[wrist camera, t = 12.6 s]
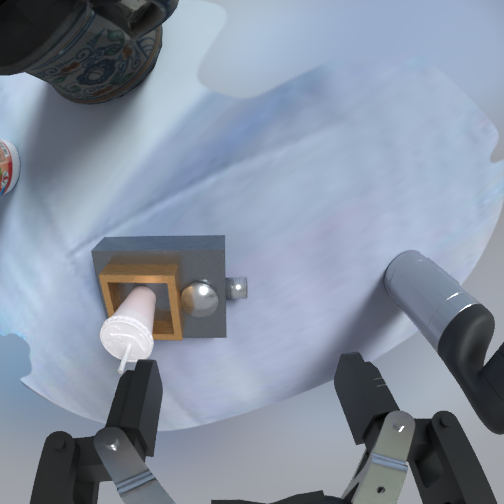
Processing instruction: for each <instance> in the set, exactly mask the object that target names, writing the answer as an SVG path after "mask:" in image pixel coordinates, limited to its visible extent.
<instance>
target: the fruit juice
mask: <svg viewBox="0 0 504 504" xmlns="http://www.w3.org/2000/svg"><path fill="white" fill-rule="evenodd" d="M19 172H20V159H19V154H18V151H17V149H16V147H15V146H14V144H13V143H12V142H11V141H9V140H7V139H0V196H2V195H5V194H6V193H8V192H9V191H10V190H11V189H12V188H13V187H14V186H15V184H16V182H17V180H18V177H19Z"/></svg>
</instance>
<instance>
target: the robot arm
mask: <svg viewBox="0 0 504 504" xmlns="http://www.w3.org/2000/svg"><path fill="white" fill-rule="evenodd" d="M384 285H385V288H386V290H387V292H388V293H389V295H390V296H391V297H392V298H393V299H394V300H395V302H396V303H397V304H398V305H399V306H400V308H401V309H402V310H403V311H404V312H405V314H406V315H407V316H408V317H409V318H410V320H411V321H412V322H413V323H414V325H415V326H416V327H417V328H418V329H419V331H420V332H421V333H422V334H423V336H424V337H425V338H426V339H427V341H428V342H429V343H430V344H431V345H432V347H433V348H434V349H435V351H436V352H437V353H438V355H439V356H440V357H441V359H442V360H443V361H444V363H445V365H446V366H447V368H448V369H449V371H450V372H451V373H452V375H453V376H454V378H455V379H456V381H457V382H458V384H459V385H460V387H461V388H462V390H463V392H464V393H465V395H466V397H467V399H468V400H469V402H470V404H471V406H472V407H473V409H474V411H475V412H476V414H477V415H478V417H479V418H480V420H481V421H482V422H483V423H484V425H485V426H486V427H487V428H488V429H489V430H490V431H491V432H493V433H495V434H499V435H500V434H504V342H503V344H502V345H501V346H500V347H499V350H497V351H496V352H495V354H494V355H493V356H492V358H491V359H490V360H489V361H488V362H487V363H486V365H485V366H484V367H483V364H484V359H485V355H486V352H487V349H488V346H489V344H490V341H491V339H492V336H493V333H494V328H495V321H494V317H493V315H492V314H491V313H490V311H489V310H488V309H486V308H485V307H484V306H483V305H482V304H481V303H480V302H479V301H478V300H476V299H475V298H474V297H473V296H472V295H471V294H469V293H468V292H467V291H466V290H465V289H464V288H463V287H461V286H460V285H459V282H458V281H456V280H455V279H454V278H453V277H452V276H450V275H449V274H448V273H447V272H446V271H444V270H443V269H442V268H441V267H439V266H438V265H437V264H436V263H434V262H433V261H432V260H431V259H429V258H426V257H425V256H424V255H422V254H421V253H420V252H418V251H406V252H404V253H402V254H400V255H399V256H397V257H396V258H395V259H394V260H393V261H392V263H391V264H390V265H389V267H388V269H387V271H386V274H385V279H384ZM334 385H335V389H336V392H337V395H338V398H339V400H340V403H341V406H342V408H343V411H344V414H345V416H346V419H347V422H348V424H349V427H350V430H351V432H352V435H353V438H354V441H355V443H356V445H358V444H363V443H365V446H366V449H365V451H364V453H363V456H362V458H361V460H360V462H359V465H358V467H357V469H356V472H355V473H354V476H353V478H352V480H351V482H350V483H349V485H348V487H347V488H346V490H345V491H344V493H343V495H342V496H341V498H338V497H334V496H326V495H324V493H323V491H322V490H321V491H316V492H310V493H304V494H297V495H294V496H291V497H288V498H286V499H283V500H280V501H277V502H274V503H270V504H396V503H397V500H398V497H399V495H400V492H401V489H402V486H403V483H404V480H405V477H406V474H407V470H408V466H406V465H405V463H406V461H408V462H409V465H410V468H411V470H412V473H413V476H414V479H415V482H416V484H417V487H418V490H419V493H420V496H421V499H422V502H423V504H497V502H496V499H495V497H494V494H493V492H492V490H491V487H490V485H489V483H488V481H487V478H486V476H485V474H484V471H483V469H482V467H481V465H480V463H479V461H478V459H477V456H476V454H475V452H474V450H473V449H472V446H471V445H470V442H469V440H468V438H467V437H466V435H465V433H464V431H463V429H462V427H461V425H460V423H459V421H458V420H457V418H456V416H455V415H454V414H452V413H451V412H448V411H439V412H437V413H436V414H434V416H433V418H432V419H414V418H413V417H412V416H411V415H410V414H409V413H407V412H404V411H400V409H399V407H398V405H397V404H396V402H395V400H394V398H393V396H392V394H391V392H390V390H389V389H388V387H387V385H386V383H385V381H384V379H382V376H381V374H380V372H379V370H378V368H376V367H375V366H374V365H373V364H372V363H371V362H364V360H363V358H362V356H361V354H360V353H359V352H353V353H346V354H342V355H341V357H340V360H339V364H338V367H337V370H336V374H335V377H334ZM162 394H163V388H162V381H161V378H160V374H159V370H158V366H157V362H156V360H146V359H138V361H137V364H136V367H135V370H127V371H126V372H125V373H124V374H123V375H122V376H121V378H120V380H119V383H118V386H117V389H116V392H115V397H114V399H113V402H112V406H111V409H110V413H109V416H108V419H107V423H106V426H105V428H103V429H101V430H99V431H98V432H97V433H96V435H95V436H92V437H84V438H72V436H71V435H70V434H68V433H66V432H63V431H57V432H53V433H52V434H50V435H49V436H48V437H47V438H46V441H45V443H44V447H43V450H42V454H41V458H40V462H39V465H38V469H37V473H36V477H35V481H34V486H33V490H32V495H31V500H30V504H97V500H98V491H99V483H100V482H102V481H114V483H115V485H116V487H117V491H118V493H119V495H120V497H121V498H122V500H123V501H124V503H125V504H176V503H175V502H174V501H173V500H172V498H171V497H170V496H169V495H168V493H167V492H166V491H165V490H164V488H163V487H162V486H161V485H160V483H159V482H158V480H157V479H156V478H155V476H154V475H153V474H152V473H151V471H150V470H149V469H148V467H147V466H146V464H145V457H146V456H150V457H153V456H154V448H155V440H156V434H157V427H158V420H159V413H160V407H161V401H162ZM211 504H265V503H258V502H251V501H244V500H211Z"/></svg>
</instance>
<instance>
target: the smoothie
mask: <svg viewBox="0 0 504 504" xmlns="http://www.w3.org/2000/svg"><path fill="white" fill-rule="evenodd" d="M155 304H156V296H155V294H154V292H153V291H152V290H151V289H149V288H147V287H145V286H138V287H135V288H134V289H133V290H132V291H131V293H130V294H129V295H128V296H127V298H126V299H125V300H124V301H123V303H122V304H121V305H120V307H119V308H118V309H117V310H116V312H115V313H114V314H113V316H112V317H110V318H108V319H107V320H106V321H105V322H104V323H103V326H102V329H101V331H100V339H101V342H102V344H103V346H104V347H105V349H106V350H107V351H108V352H109V353H110V354H111V355H113V356H114V357H116V358H118V359H120V360H122V361H121V363H120V366H119V369H118V373H119V374H123V371H124V368H125V365H126V362H137V361H138V359H147V358H148V357H149V356H150V354H151V351H152V349H153V345H154V342H153V337H152V330H153V321H154V313H155Z"/></svg>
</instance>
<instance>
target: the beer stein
mask: <svg viewBox="0 0 504 504" xmlns="http://www.w3.org/2000/svg"><path fill="white" fill-rule="evenodd" d="M178 1H179V0H0V75H14V74H18V73H23V72H26V73H28V74H30V75H32V76H35V77H37V78H39V79H41V80H43V81H46V82H48V83H50V84H52V85H53V87H54V88H55V90H56V91H57V92H58V93H59V94H60V95H61V96H63V97H64V98H66V99H68V100H70V101H72V102H75V103H79V104H88V105H92V104H99V103H103V102H107V101H110V100H112V99H114V98H118V97H121V96H123V95H124V94H126V93H127V92H129V91H130V90H132V89H133V88H135V87H137V86H138V85H139V84H140V83H141V82H142V81H143V80H144V79H145V77H146V76H147V75H148V74H149V73H150V72H151V71H152V69H153V68H154V67H155V64H156V61H157V58H158V55H159V53H160V50H161V47H162V23H164V22H165V21H166V20H167V19H168V18H169V17H170V16H171V15H172V14H173V12H174V11H175V9H176V8H177V5H178Z"/></svg>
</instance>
